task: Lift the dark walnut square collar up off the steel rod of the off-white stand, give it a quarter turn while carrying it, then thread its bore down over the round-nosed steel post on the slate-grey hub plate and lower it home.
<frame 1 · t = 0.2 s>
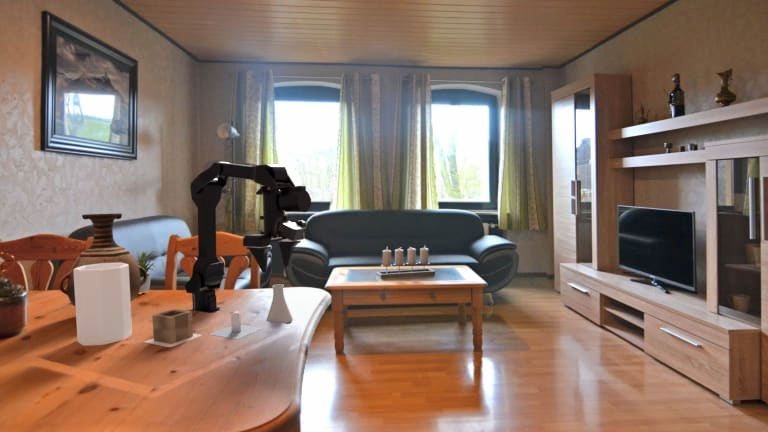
hand: (275, 269, 122), 14 cm above the table, tool pointing down, fingers open, 9 cm apart
cup: (105, 343, 108), on the table
rod stand: (173, 343, 107), on the table
house plant: (145, 293, 162), on the table
hub plate: (236, 335, 112), on the table
vase: (107, 315, 133), on the table
walnut collar: (173, 338, 107), point 1 cm above the table, touching rod stand
flask: (279, 322, 123), on the table
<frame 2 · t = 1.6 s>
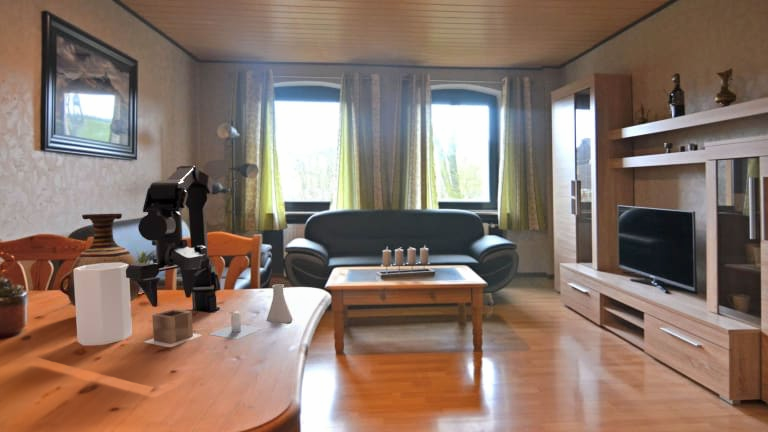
hand: (172, 301, 106), 10 cm above the table, tool pointing down, fingers open, 9 cm apart
nothing on the table moved.
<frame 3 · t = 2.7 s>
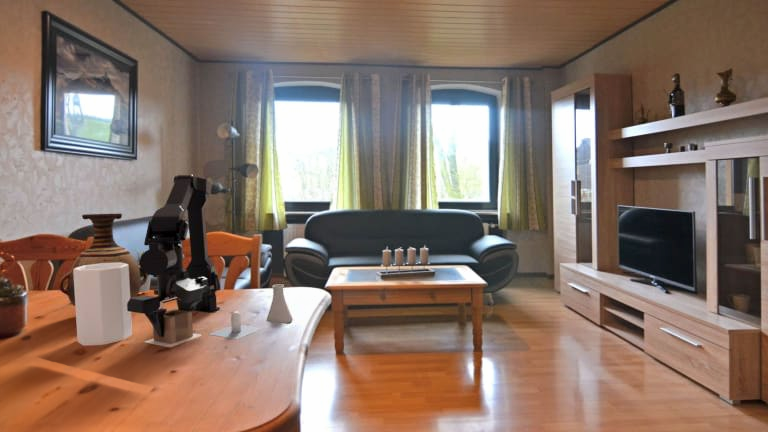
hand: (173, 332, 107), 3 cm above the table, tool pointing down, fingers closed on walnut collar, 6 cm apart
walnut collar: (173, 338, 107), point 1 cm above the table, touching gripper, rod stand
everything else where it was.
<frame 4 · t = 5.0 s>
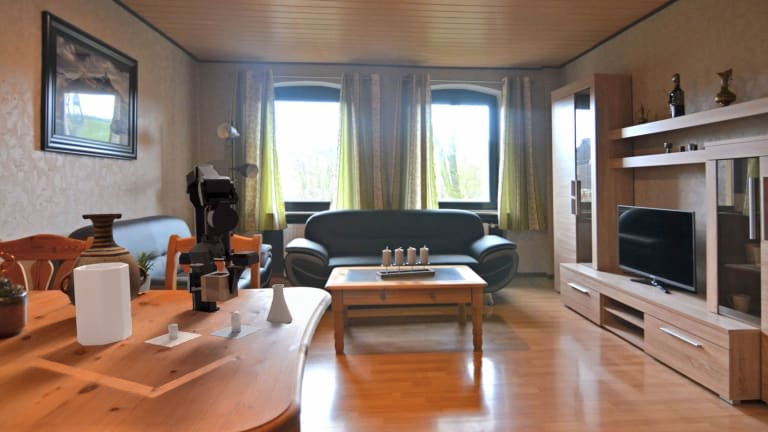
hand: (220, 293, 110), 11 cm above the table, tool pointing down, fingers closed on walnut collar, 6 cm apart
walnut collar: (220, 298, 110), point 10 cm above the table, touching gripper
everything else where it was.
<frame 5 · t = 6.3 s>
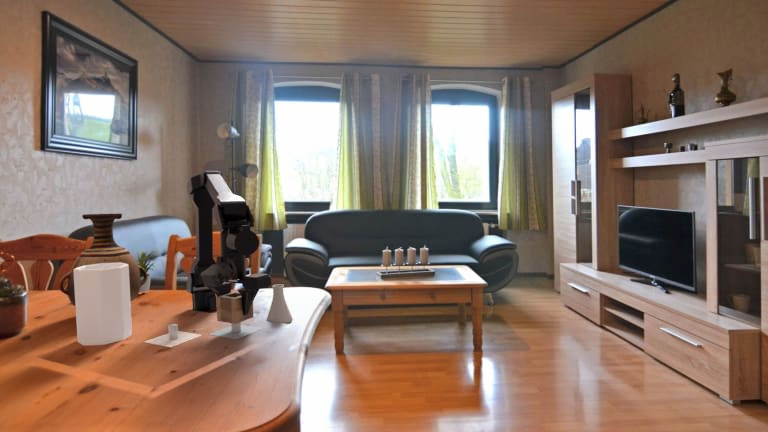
hand: (235, 313, 111), 6 cm above the table, tool pointing down, fingers closed on walnut collar, 6 cm apart
walnut collar: (235, 319, 111), point 4 cm above the table, touching gripper
everything else where it was.
when the fingers open (3 cm above the table, at t = 7.3 s): walnut collar stays where it is, resting on hub plate.
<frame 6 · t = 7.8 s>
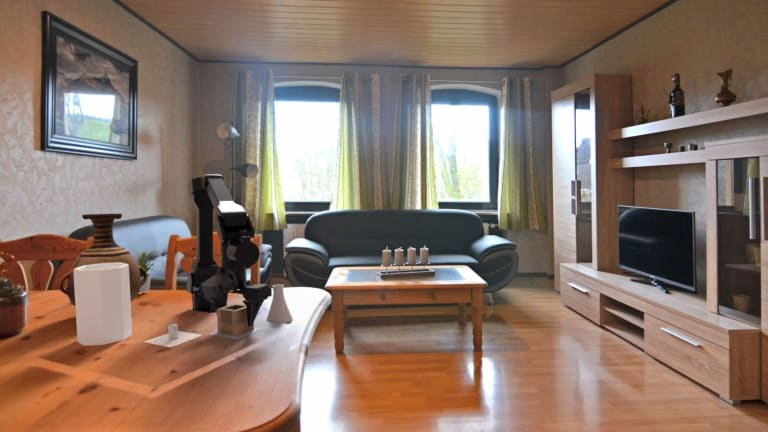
hand: (235, 324, 111), 3 cm above the table, tool pointing down, fingers open, 9 cm apart
walnut collar: (236, 331, 111), point 1 cm above the table, touching hub plate
everything else where it was.
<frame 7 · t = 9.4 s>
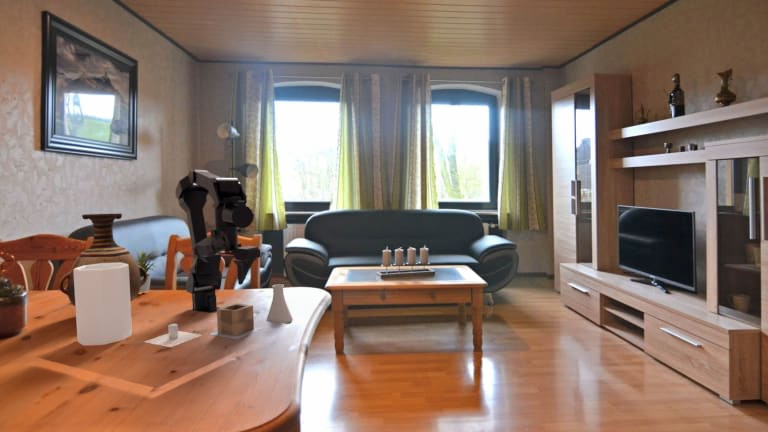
hand: (227, 282, 122), 11 cm above the table, tool pointing down, fingers open, 9 cm apart
nothing on the table moved.
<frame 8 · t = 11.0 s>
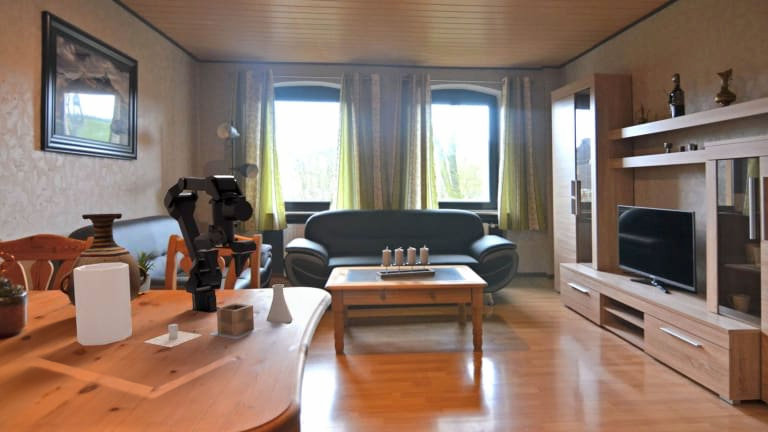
hand: (225, 275, 127), 12 cm above the table, tool pointing down, fingers open, 9 cm apart
nothing on the table moved.
at the end: walnut collar 0.1 cm from the hub plate (horizontally); walnut collar point 1.2 cm above the table; walnut collar tilted 0° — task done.
